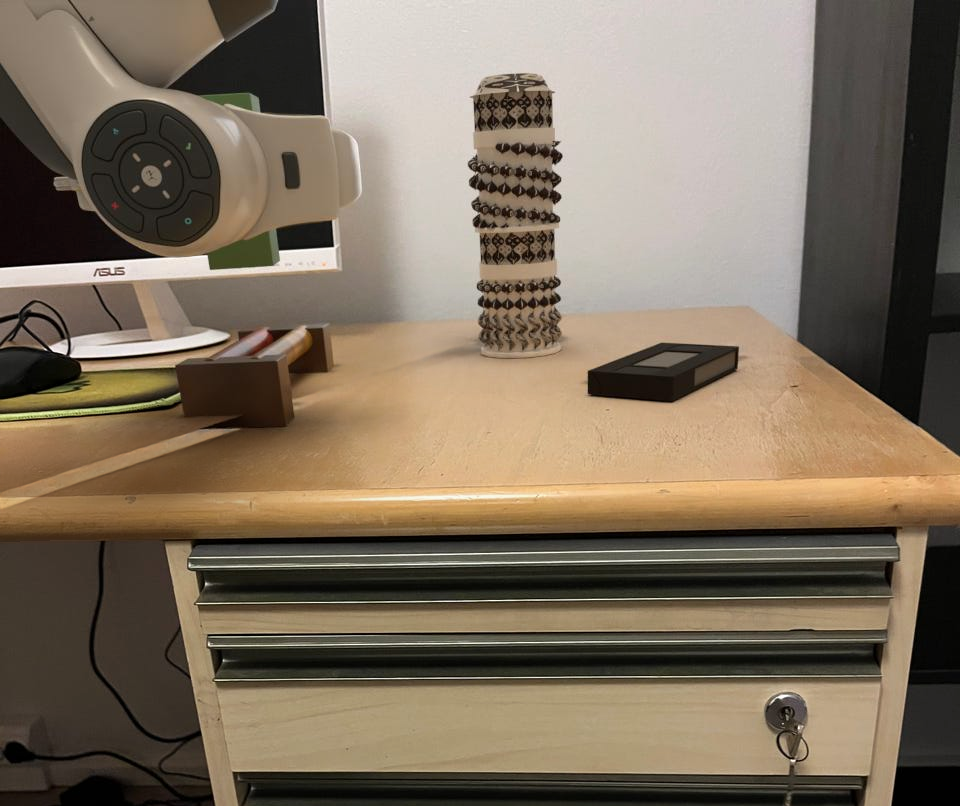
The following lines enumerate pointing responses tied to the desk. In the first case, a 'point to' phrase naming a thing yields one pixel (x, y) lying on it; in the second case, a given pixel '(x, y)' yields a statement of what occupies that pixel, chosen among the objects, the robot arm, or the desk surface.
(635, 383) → the vhs tape
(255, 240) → the bar
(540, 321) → the decorative candle
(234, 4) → the robot arm
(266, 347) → the rack
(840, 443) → the desk surface
